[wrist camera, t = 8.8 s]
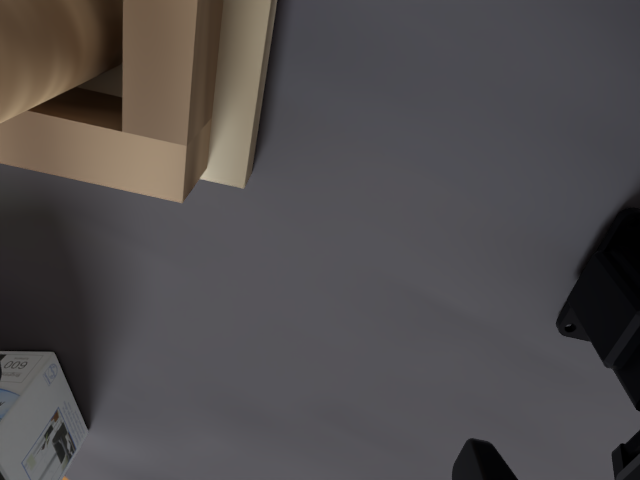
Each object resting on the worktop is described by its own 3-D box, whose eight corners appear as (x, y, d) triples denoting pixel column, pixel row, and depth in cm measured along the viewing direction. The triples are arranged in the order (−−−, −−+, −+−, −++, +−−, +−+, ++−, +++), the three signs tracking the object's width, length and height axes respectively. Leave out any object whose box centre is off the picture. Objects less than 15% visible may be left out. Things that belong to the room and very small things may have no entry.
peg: (139, 80, 18) (-5, 167, 11) (36, 57, 18) (-177, 129, 11) (141, -34, 16) (-31, -19, 9) (27, -61, 16) (-237, -66, 9)
